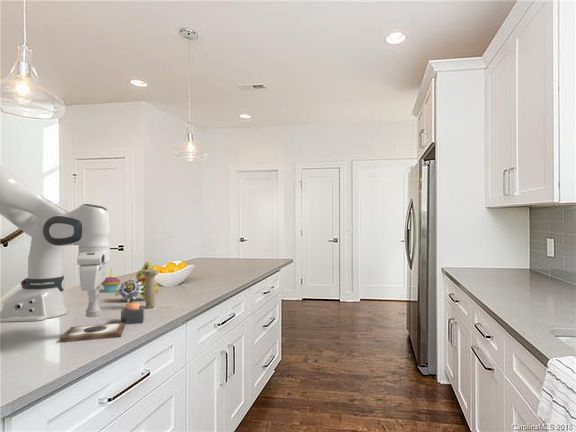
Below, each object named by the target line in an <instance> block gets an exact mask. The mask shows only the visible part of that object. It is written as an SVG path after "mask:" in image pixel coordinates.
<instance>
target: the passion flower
mask: <svg viewBox="0 0 576 432" xmlns="http://www.w3.org/2000/svg"><path fill="white" fill-rule="evenodd" d="M142 283H143V281H140V282H136V279H135V278H134V277H132V278H131V279H128V280H127V281H124V282H123V283H122V282H120V284H121V286H120V287H119V290H118V291H117V292H116V293H115V296H122V297H121V300H122V301H123V302H124V301H126V304H128V303H130V301H131V299H133V300H137V298H138V294H140V295H141V297H143V299H144V300H145V290H144V289H143V288H144V287H145V286H140V285H141V284H142Z"/></svg>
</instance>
